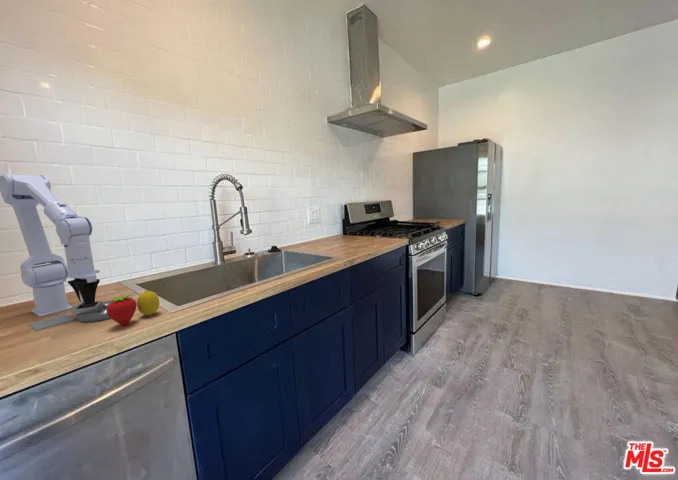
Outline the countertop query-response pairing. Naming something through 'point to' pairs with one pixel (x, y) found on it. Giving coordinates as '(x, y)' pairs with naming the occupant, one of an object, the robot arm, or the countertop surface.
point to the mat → (51, 322)
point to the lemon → (148, 303)
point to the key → (85, 304)
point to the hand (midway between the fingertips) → (87, 302)
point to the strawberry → (121, 309)
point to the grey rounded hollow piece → (92, 312)
